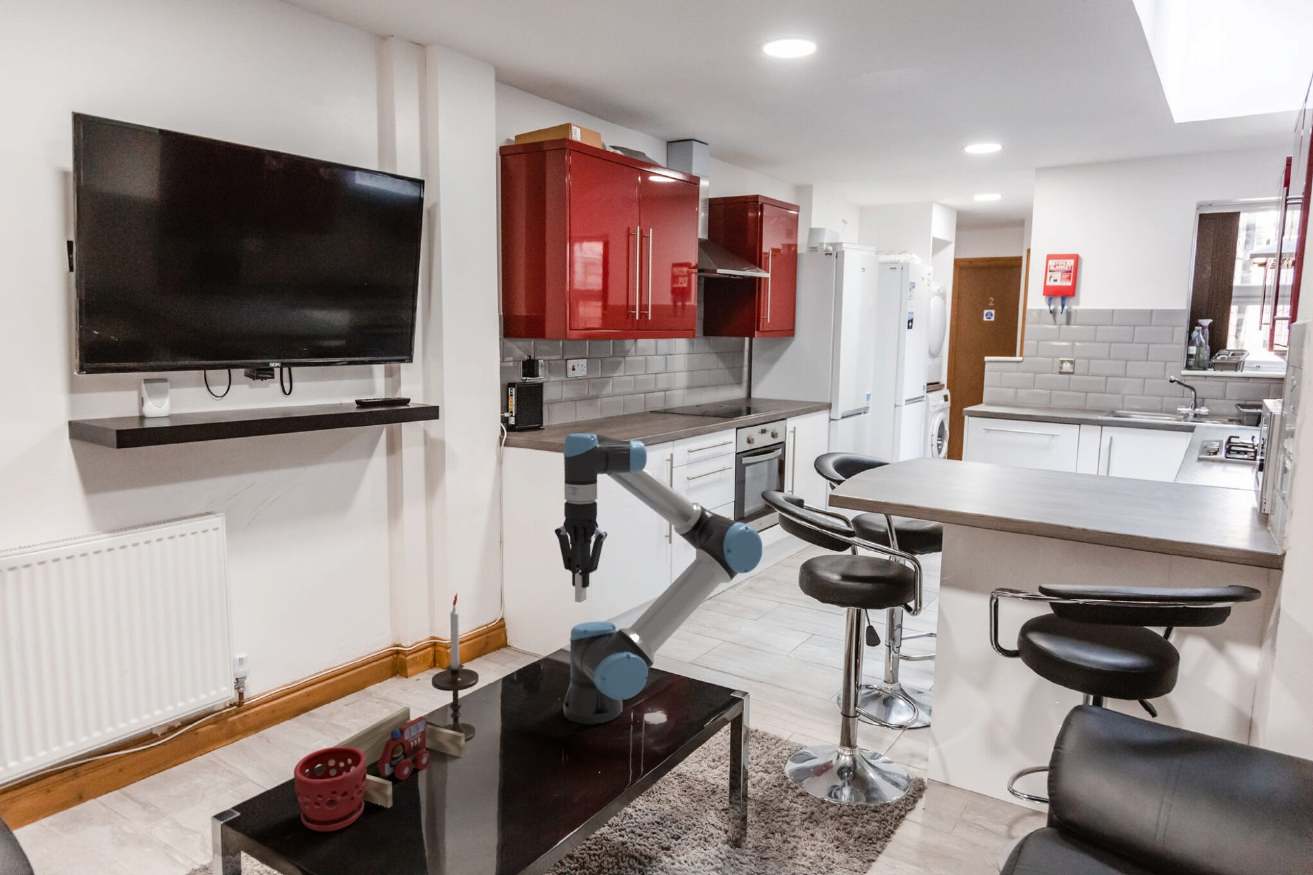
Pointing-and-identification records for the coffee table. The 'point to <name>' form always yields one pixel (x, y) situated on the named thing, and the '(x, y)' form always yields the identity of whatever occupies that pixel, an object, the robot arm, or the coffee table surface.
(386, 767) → the toy fire truck
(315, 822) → the plant pot
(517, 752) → the coffee table surface
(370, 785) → the box
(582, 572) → the robot arm
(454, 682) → the candlestick
